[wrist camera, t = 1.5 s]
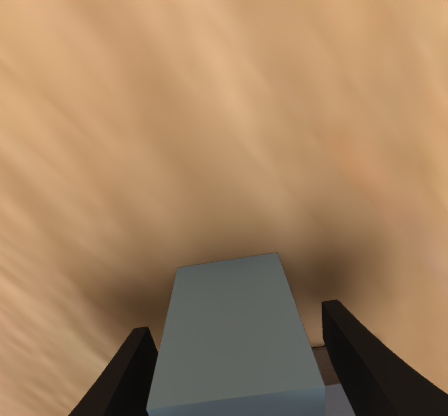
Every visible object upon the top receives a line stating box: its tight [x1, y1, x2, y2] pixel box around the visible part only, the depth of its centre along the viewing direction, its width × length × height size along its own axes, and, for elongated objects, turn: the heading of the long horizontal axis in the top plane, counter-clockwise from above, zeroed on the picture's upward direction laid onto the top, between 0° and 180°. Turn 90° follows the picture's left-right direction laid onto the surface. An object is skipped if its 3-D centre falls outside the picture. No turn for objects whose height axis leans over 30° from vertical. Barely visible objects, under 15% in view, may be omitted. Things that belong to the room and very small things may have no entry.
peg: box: [146, 252, 326, 416], centre depth 11 cm, size 4×4×6 cm
